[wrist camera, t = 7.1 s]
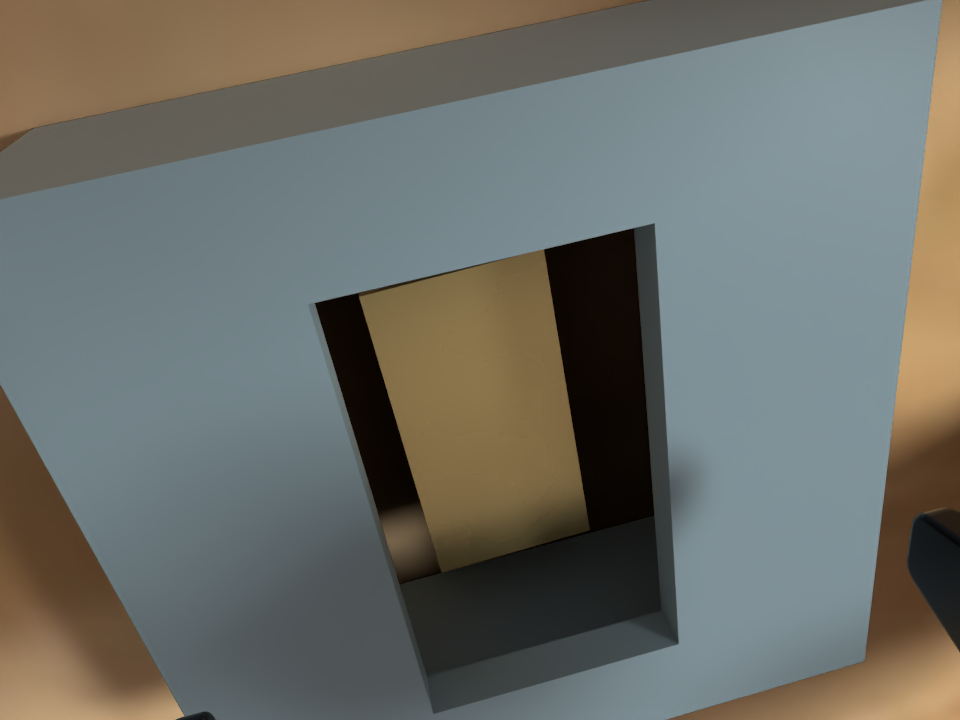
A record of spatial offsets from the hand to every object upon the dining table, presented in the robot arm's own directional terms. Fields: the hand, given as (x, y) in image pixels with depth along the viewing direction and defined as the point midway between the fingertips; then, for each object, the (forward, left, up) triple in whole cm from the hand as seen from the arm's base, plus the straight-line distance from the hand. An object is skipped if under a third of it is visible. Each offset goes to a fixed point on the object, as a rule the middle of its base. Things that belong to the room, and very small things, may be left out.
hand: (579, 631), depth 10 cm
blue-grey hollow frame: (0, 0, -7) cm, 7 cm away
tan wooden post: (0, 0, -7) cm, 7 cm away
